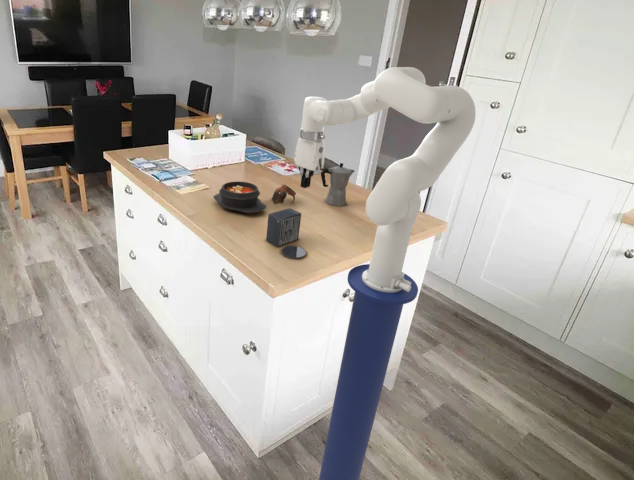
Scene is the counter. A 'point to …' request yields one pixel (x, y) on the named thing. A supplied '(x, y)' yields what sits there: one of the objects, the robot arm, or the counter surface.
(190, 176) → the counter surface
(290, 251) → the slate coaster
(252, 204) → the casserole
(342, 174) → the coffeepot
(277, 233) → the small box
